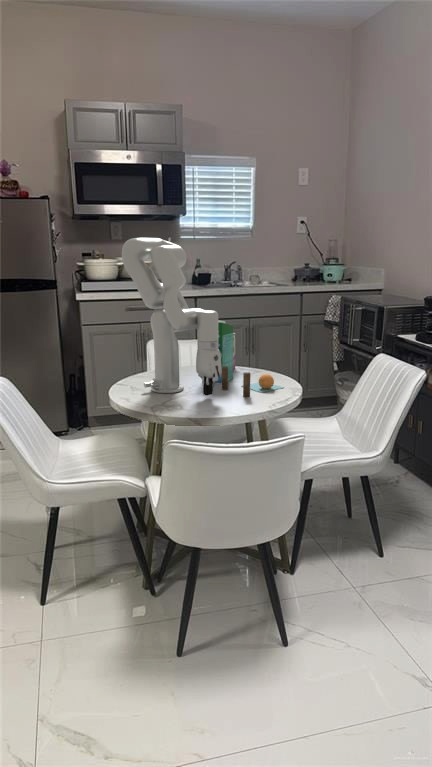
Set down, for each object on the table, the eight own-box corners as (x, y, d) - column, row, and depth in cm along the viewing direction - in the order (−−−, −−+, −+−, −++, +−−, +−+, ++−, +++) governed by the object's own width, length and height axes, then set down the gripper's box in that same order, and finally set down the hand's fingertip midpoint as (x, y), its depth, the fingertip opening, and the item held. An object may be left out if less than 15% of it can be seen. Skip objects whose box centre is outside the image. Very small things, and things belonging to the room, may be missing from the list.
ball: (276, 374, 204) (277, 389, 205) (268, 371, 209) (269, 386, 211) (262, 376, 202) (263, 391, 203) (255, 374, 207) (256, 388, 208)
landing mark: (261, 392, 201) (261, 392, 201) (241, 386, 211) (241, 386, 211) (284, 387, 209) (284, 387, 208) (263, 382, 218) (263, 381, 218)
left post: (224, 390, 205) (224, 367, 202) (220, 389, 207) (220, 366, 204) (229, 389, 206) (229, 367, 204) (225, 388, 208) (225, 365, 206)
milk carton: (233, 378, 224) (233, 319, 218) (221, 383, 216) (222, 322, 210) (215, 376, 228) (215, 318, 222) (203, 380, 221) (203, 320, 215)
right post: (246, 397, 195) (246, 374, 192) (241, 396, 197) (241, 372, 194) (251, 396, 196) (251, 373, 194) (247, 395, 198) (247, 371, 196)
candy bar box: (224, 367, 245) (225, 332, 241) (235, 368, 244) (235, 332, 240) (220, 373, 234) (220, 336, 230) (231, 373, 233) (231, 336, 229)
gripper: (229, 347, 185) (228, 397, 190) (204, 341, 197) (204, 388, 201) (212, 349, 181) (212, 400, 185) (187, 343, 192) (188, 392, 197)
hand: (208, 394), depth 193 cm, fingers closed
